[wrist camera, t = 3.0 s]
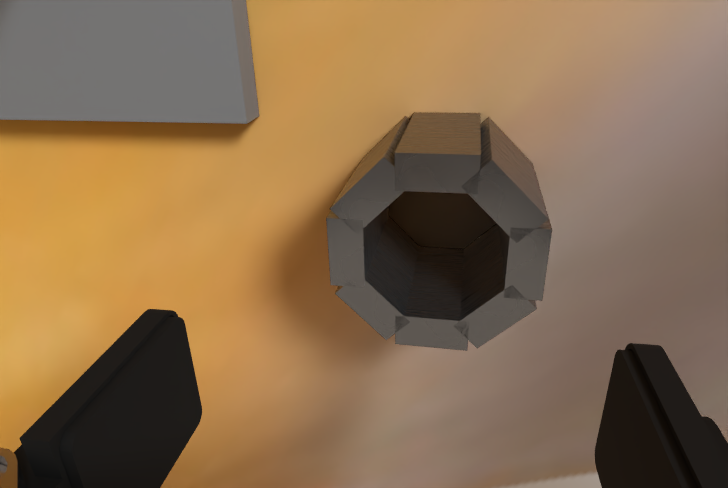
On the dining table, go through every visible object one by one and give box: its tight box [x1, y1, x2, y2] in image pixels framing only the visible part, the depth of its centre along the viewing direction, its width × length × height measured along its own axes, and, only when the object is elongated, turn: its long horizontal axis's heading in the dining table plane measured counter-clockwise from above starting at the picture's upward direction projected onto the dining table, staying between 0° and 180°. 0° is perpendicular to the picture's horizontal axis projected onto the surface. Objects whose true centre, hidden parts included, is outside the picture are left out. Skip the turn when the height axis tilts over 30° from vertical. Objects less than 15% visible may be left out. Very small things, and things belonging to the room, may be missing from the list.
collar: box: [326, 113, 552, 351], centre depth 18 cm, size 6×6×5 cm
